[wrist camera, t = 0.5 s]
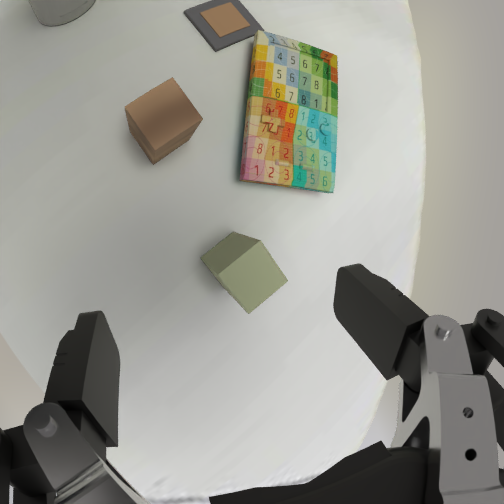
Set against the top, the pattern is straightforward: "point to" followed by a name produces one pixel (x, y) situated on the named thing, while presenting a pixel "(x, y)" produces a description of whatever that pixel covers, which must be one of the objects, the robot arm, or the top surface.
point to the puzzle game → (291, 115)
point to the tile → (223, 22)
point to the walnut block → (162, 120)
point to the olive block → (245, 270)
